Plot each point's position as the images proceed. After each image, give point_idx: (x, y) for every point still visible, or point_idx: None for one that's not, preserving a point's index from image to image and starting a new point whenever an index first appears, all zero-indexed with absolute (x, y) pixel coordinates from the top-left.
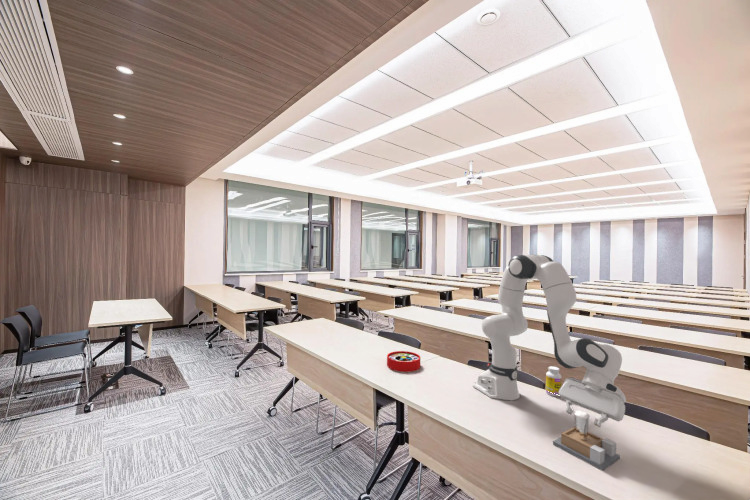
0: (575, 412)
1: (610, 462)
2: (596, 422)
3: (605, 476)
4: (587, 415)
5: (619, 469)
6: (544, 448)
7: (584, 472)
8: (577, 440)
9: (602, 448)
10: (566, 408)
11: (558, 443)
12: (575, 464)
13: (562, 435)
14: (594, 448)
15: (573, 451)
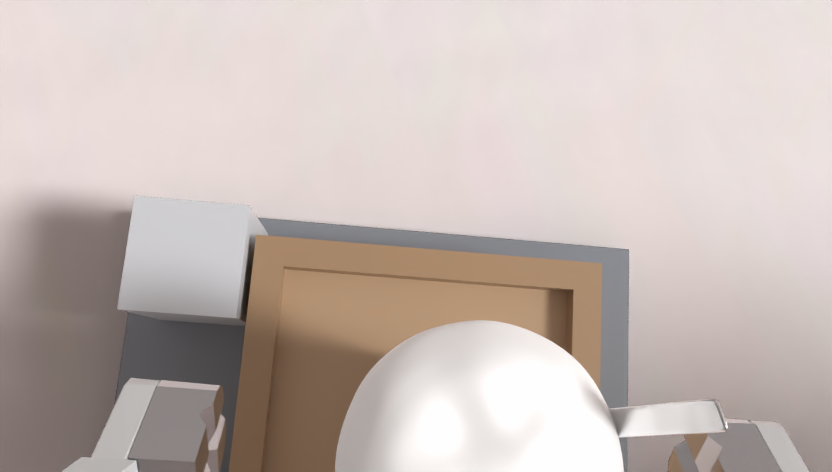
0: (593, 397)
1: (121, 374)
2: (169, 396)
3: (111, 152)
4: (364, 449)
5: (53, 381)
6: (621, 122)
7: (249, 60)
8: (414, 266)
9: (142, 310)
10: (800, 459)
11: (576, 253)
12: (344, 111)
13: (580, 266)
14: (206, 224)
15: (422, 237)
